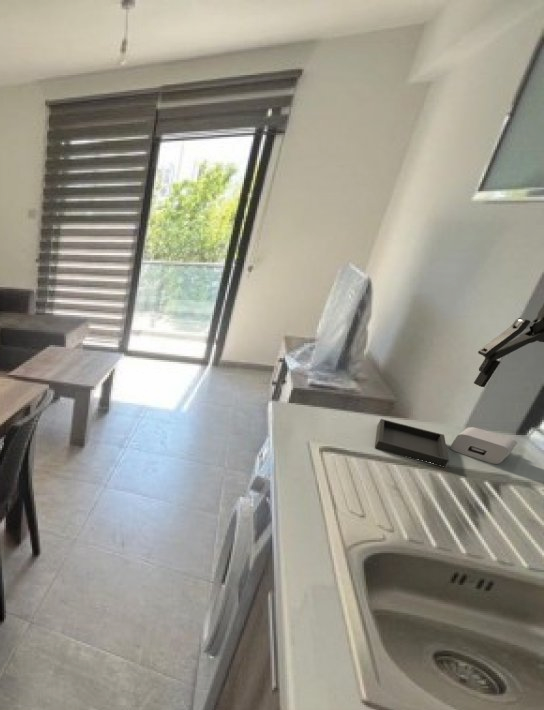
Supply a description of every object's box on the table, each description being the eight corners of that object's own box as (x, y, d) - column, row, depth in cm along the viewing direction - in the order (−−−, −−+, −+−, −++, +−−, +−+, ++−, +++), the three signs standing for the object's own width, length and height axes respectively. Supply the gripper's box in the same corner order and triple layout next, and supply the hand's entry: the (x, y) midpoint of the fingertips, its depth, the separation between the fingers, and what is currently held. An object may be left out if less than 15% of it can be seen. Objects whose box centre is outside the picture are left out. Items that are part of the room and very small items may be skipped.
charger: (513, 451, 123) (498, 465, 115) (465, 436, 129) (448, 449, 122) (524, 435, 120) (510, 448, 113) (475, 421, 127) (459, 432, 119)
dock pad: (439, 441, 125) (444, 434, 125) (444, 467, 113) (448, 460, 112) (377, 425, 133) (380, 418, 132) (374, 448, 120) (378, 441, 119)
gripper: (627, 304, 107) (562, 392, 118) (493, 291, 113) (442, 376, 123) (660, 310, 101) (589, 403, 111) (516, 297, 106) (461, 386, 117)
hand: (512, 389), depth 117 cm, fingers open, 13 cm apart
